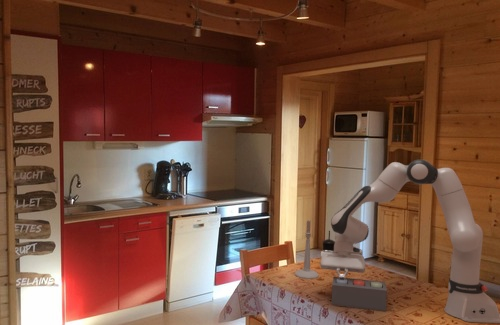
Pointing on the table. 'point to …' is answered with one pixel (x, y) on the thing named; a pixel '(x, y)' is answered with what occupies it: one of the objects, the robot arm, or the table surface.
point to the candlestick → (307, 259)
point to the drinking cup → (328, 244)
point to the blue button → (341, 281)
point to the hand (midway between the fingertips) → (341, 278)
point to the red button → (359, 282)
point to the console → (359, 295)
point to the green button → (376, 284)
